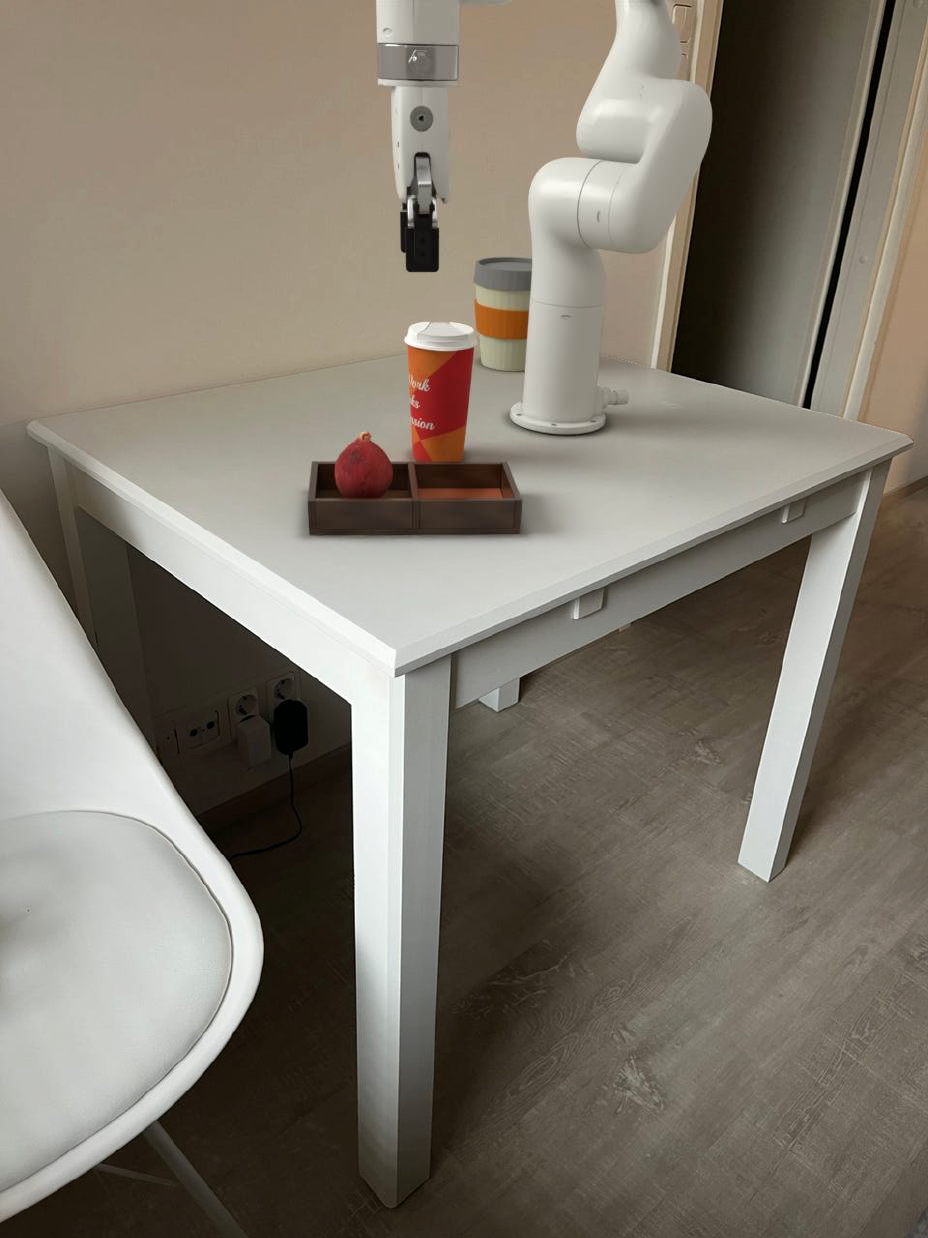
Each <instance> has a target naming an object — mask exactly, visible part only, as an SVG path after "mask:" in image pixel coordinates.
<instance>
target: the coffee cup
mask: <svg viewBox="0 0 928 1238" xmlns="http://www.w3.org/2000/svg"><path fill="white" fill-rule="evenodd" d="M404 343H405V344H407V364H408V365H407V367H408V368H407V369H408V388H409V411H410V413H409V415H410V432H411V449H412V457H413V459H414V460H415V461H416V462H462V460H463V457H464V451H465V443H466V433H467V425H468V424H467V423H468V415H469V404H470V395H471V387H472V386H471V385H472V375H473V364H474V354H475V347H477V345H478V344H479V341H478V339H477V338H476V336H475V330H474V328H473V327H471V326H470V325H467V324H464V323H459V322H455V321H454V322H453V321H449V322H445V321H434V322H430V321H421V322H416V323H412V324H411V325H410V326H409V327H408V330H407V335H406V336H405V337H404Z"/></svg>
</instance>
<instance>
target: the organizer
mask: <svg viewBox="0 0 928 1238" xmlns="http://www.w3.org/2000/svg"><path fill="white" fill-rule="evenodd" d="M336 461H337V460H334V461H333V460H332V461H331V460H329V461H327V460H326V461H324V460H323V461H322V460H319V461H317V460H313V461H311V465H310V475H309V484H308V495H307V520H308V535H310V536H327V535H329V536H332V535H333V536H336V535H339V536H340V535H341V536H343V535H346V536H347V535H348V536H349V535H351V536H353V535H355V536H356V535H487V534H488V535H503V534H505V535H506V534H507V535H513V534H514V535H515V534H516V535H517V534H521V527H522V525H521V524H522V512H523V499H522V496H521V494H520V491H519V488H518V485H517V483H516V480H515V477H514V475H513V472H512V470H511V467H510V465H509V462H508V461H459V462H419V461H401V460H400V461H399V460H398V461H394V460H393V461H391V460H390V462H391V465H392V468H393V478H392V483H391V484H390V486H389V488H388V490H387V492H386V493H385V494H384V495H383V496H382V497H381V498H346V497H345V496H344V495H343V494H342V493H341V492H340V490H339V488H338V487H337V485H336V479H335V464H336Z"/></svg>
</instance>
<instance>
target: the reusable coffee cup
mask: <svg viewBox="0 0 928 1238" xmlns="http://www.w3.org/2000/svg"><path fill="white" fill-rule="evenodd" d="M473 273H474V274H473V278H472V279H473V281H472V282H473V283H474V284H475V296H476V298H475V299H474V300H473V303H474V305H473V306H474V317H475V318H474V319H475V329H476V332H477V333H478V334H479V347H480V350H479V351H480V358H481V359H480V361H481V364H482V365H483V366H485V368H489V369H493V370H497V371H503V372H504V371H505V372H525V362H526V348H527V334H528V320H529V306H530V294H531V278H532V257H531V258H530V257H517V256H493V257H485V258H480V259H478V260H476V261H475V266H474V272H473Z"/></svg>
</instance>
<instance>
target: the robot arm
mask: <svg viewBox="0 0 928 1238" xmlns="http://www.w3.org/2000/svg"><path fill="white" fill-rule="evenodd" d="M514 1H515V0H375V10H376V11H375V12H376V14H375V15H376V43H377V44H376V49H377V50H376V55H377V58H376V59H377V61H376V62H377V85H378V86H383V87H384V86H385V87H390V105H391V106H390V114H391V145H392V160H393V171H394V181H395V187H396V193H397V196H398V198H399V200H400V201H401V211H399V224H400V225H399V230H400V231H399V235H400V237H399V238H400V239H399V240H400V252H402V253H403V254H405V271H407V273H437V272H439V270H440V227H438V225H439V223H438V205H437V198H438V199H440V201H441V202H442V204H443V205H446V204H448V203H449V202H450V201H451V142H450V141H451V139H450V138H451V137H450V135H451V134H450V133H451V131H450V130H451V129H450V128H451V127H450V102H449V91H448V88H456V87H459V74H460V73H459V71H460V69H459V65H460V46H459V45H460V8H461V7H467V8H468V7H470V8H471V7H473V8H474V7H475V8H476V7H478V8H479V7H480V8H481V7H500V6H504V5H506V4H510V3H512V2H514ZM614 7H615V19H616V21H615V22H616V31H615V36H614V41H613V43H612V46H611V47H610V50H609V53H608V55H607V58H606V60H605V62H604V63H603V65H602V67H601V70H600V72H599V74H598V76H597V78H596V80H595V82H594V83H593V86H592V89H591V90H590V92H589V94H588V96H587V99H586V100H585V103H584V105H583V107H582V109H581V112H580V114H579V117H578V120H577V124H576V129H575V141H576V144H577V147H578V149H579V151H580V152H581V153H582V155H583V156H585V157H578V156H577V157H575V156H573V157H571V156H570V157H569V156H567V157H566V156H565V157H561V158H556V159H553V160H550V161H549V162H547V163H545V164H544V165H543V166H542V167H540V168H539V170H537V172H536V174H534V177H533V179H532V181H531V183H530V187H529V191H528V199H527V211H528V221H529V229H530V239H531V259H532V278H531V294H530V306H529V320H528V334H527V348H526V362H525V371H524V378H523V390H522V391H523V393H522V400H521V401H518V402H517V403H514V404H513V405H512V406H511V407H510V412H509V418H510V420H511V421H512V422H513V423H514V424H516V425H518V426H519V427H522V428H523V429H527V430H530V431H534V432H539V433H543V434H549V435H550V434H551V435H552V434H553V435H581V434H588V433H592V432H595V431H597V430H600V429H601V428H603V426H605V423H606V412H604V411H603V409H606V408H608V406H625V405H627V404H628V403H629V401H630V394H629V391H628V390H626V389H618V390H617V389H616V390H612V389H611V388H610V387H609V386H608V387H607V386H606V387H601V386H599V385H598V380H599V370H600V362H601V352H602V345H603V344H602V342H603V334H604V325H605V324H604V323H605V315H606V305H607V298H608V278H607V272H606V269H605V265H604V262H603V259H602V258H601V255H600V253H599V251H598V250H603V251H609V252H616V253H622V254H628V255H629V254H630V255H642V254H646V253H649V252H651V251H653V250H655V249H656V248H657V247H658V246H659V245H660V244H661V242H662V241H663V240H664V239H665V237H666V235H667V234H668V232H669V230H670V228H671V226H672V224H673V222H674V220H675V218H676V216H677V213H678V212H679V209H680V207H681V206H682V203H683V201H684V199H685V197H686V195H687V193H688V191H689V189H690V187H691V184H692V183H693V181H694V179H695V176H696V174H697V173H698V171H699V168H700V165H701V164H702V161H703V159H704V156H705V154H706V152H707V148H708V146H709V142H710V138H711V132H712V124H713V109H712V108H713V107H712V103H711V100H710V98H709V96H708V93H707V92H706V91H705V89H704V88H703V87H701V86H700V85H699V84H697V83H695V82H693V81H689V80H684V79H677V78H676V77H677V75H678V74H679V70H680V67H681V64H682V60H683V48H682V43H681V40H680V37H679V36H680V35H679V33H678V31H677V28H676V27H675V24H674V23H673V20H672V18H671V15H670V13H669V10H668V5H667V0H614Z"/></svg>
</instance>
